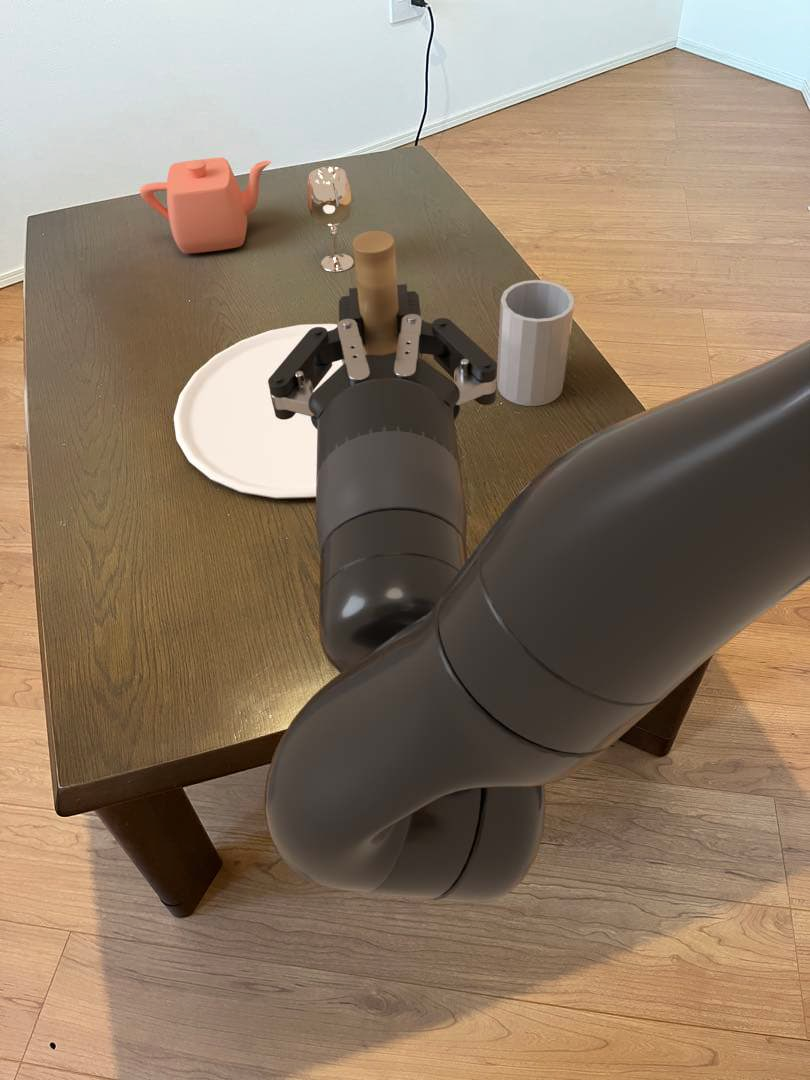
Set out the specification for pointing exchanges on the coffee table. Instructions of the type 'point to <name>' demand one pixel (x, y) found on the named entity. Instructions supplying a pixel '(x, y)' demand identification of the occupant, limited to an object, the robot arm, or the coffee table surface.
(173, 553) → the coffee table surface
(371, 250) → the light brown wooden rod
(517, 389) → the grey faceted cup
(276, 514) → the coffee table surface
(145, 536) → the coffee table surface
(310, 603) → the coffee table surface
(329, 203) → the wineglass
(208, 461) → the plate
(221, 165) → the teapot
